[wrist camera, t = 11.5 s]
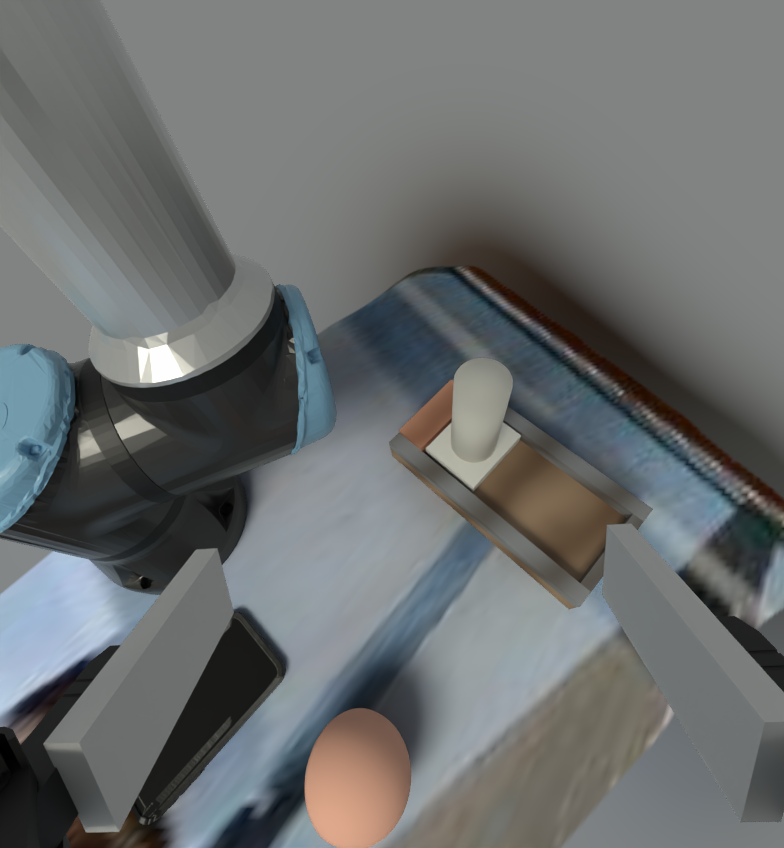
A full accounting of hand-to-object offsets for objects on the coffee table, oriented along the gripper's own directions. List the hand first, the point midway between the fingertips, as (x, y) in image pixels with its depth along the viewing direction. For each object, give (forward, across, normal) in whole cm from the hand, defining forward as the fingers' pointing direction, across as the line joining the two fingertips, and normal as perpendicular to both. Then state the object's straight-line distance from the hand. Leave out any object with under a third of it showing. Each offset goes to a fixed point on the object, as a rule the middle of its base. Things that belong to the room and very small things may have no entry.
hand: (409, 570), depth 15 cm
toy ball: (+12, -6, -27) cm, 30 cm away
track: (+28, +9, -12) cm, 31 cm away
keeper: (+29, +6, -7) cm, 30 cm away
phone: (+15, -20, -25) cm, 36 cm away
